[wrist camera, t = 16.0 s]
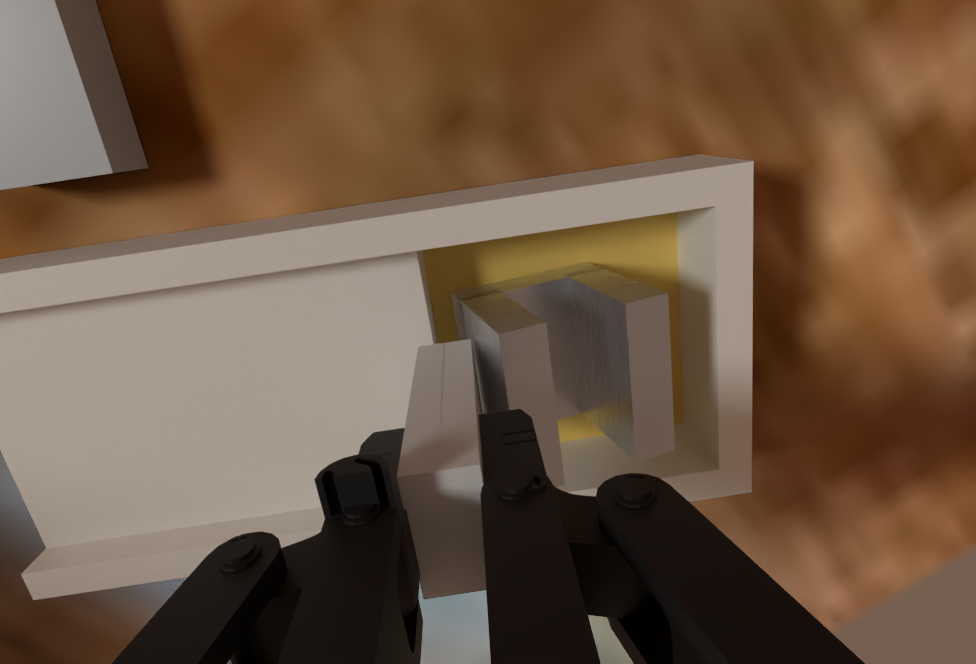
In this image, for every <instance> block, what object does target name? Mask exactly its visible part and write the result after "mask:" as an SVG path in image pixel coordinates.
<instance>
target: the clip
mask: <svg viewBox="0 0 976 664" xmlns="http://www.w3.org/2000/svg"><path fill="white" fill-rule="evenodd" d="M451 296H452V302H453V308H454V314H455V320H456V326H457V332H458V338H459V341H460V340H467V339H471V344H472V350H473V356H474V363H475V369H476V375H477V381H478V387H479V394H480V400H481V406H482V412H483V414H488V413H494V412H501V411H508V410H514V409H521V410H523V411H524V412H525V413H527V414H528V415H529V416H530V417H532V421H533V424H534V428H535V432H536V436H537V441H538V444H539V447H540V451H541V455H542V459H543V463H544V467H545V470H546V474H547V476H548V477H549V479H550V480H551V482H552V484H553V485H554V486H555V487H556V488H557V487H560V486H563V485H565V481H564V473H563V464H562V455H561V447H560V438H559V429H558V420H560V419H564V418H567V417H571V416H574V415H578V414H581V413H582V414H583V415H584V416H585V417H587V418H588V419H589V420H590V421H591V422H592V423H593V424H594V425H595V426H596V427H598V428H599V429H600V430H601V431H602V432H603V433H604V434H605V435H606V436H608V437H609V438H610V439H611V440H612V441H613V442H614V443H615V444H616V445H617V446H619V447H620V448H621V449H622V450H623V451H624V452H625V453H626V454H627V455H629V456H630V457H631V458H632V459H633V460H634V461H635V462H639V461H642V460H645V459H649V458H652V457H655V456H658V455H661V454H664V453H668V452H671V451H674V450H675V440H674V416H673V393H672V370H671V347H670V324H669V301H668V293H666V292H664V291H661V290H659V289H656V288H653V287H651V286H648V285H645V284H643V283H640V282H638V281H635V280H632V279H630V278H627V277H624V276H622V275H619V274H617V273H614V272H611V271H609V270H606V269H604V268H601V267H598V266H596V265H593V264H590V263H588V262H585V263H581V264H576V265H571V266H567V267H562V268H558V269H553V270H549V271H544V272H540V273H535V274H531V275H526V276H521V277H517V278H512V279H508V280H503V281H499V282H494V283H490V284H485V285H481V286H476V287H471V288H467V289H462V290H458V291H453V292H451Z"/></svg>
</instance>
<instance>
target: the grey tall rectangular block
mask: <svg viewBox="0 0 976 664" xmlns="http://www.w3.org/2000/svg"><path fill="white" fill-rule="evenodd" d="M145 168H149V167H148V164H147V161H146V158H145V155H144V152H143V148H142V145H141V142H140V139H139V136H138V133H137V130H136V126H135V123H134V120H133V117H132V114H131V111H130V108H129V104H128V101H127V98H126V95H125V92H124V89H123V86H122V82H121V79H120V76H119V73H118V70H117V67H116V64H115V60H114V57H113V54H112V51H111V48H110V45H109V42H108V38H107V35H106V32H105V29H104V26H103V23H102V20H101V16H100V13H99V10H98V7H97V4H96V1H95V0H0V190H4V189H11V188H18V187H24V186H31V185H38V184H45V183H51V182H58V181H65V180H71V179H78V178H85V177H91V176H98V175H105V174H111V173H118V172H125V171H131V170H138V169H145Z"/></svg>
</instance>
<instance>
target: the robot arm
mask: <svg viewBox="0 0 976 664" xmlns="http://www.w3.org/2000/svg"><path fill="white" fill-rule="evenodd" d="M314 480H315V484H316V488H317V491H318V495H319V499H320V502H321V506H322V509H323V513H324V517H325V520H324V523H323V526H322V529H321V532H320V533H318V534H316V535H314V536H312V537H310V538H307V539H305V540H302V541H300V542H297V543H294V544H291V545H289V546H286V547H283V548H281V545H280V541H279V539H278V538H277V537H276V536H275V535H273V534H272V533H267V532H261V531H260V532H252V533H246V534H242V535H240V536H236V537H234V538H231V539H230V540H228V541H226V542H225V543H223V544H221V545H219V546H218V547H216V548H215V549H214V550H213V551H212V552H211V553H210V554H208V555H207V556H206V557H205V558H204V560H203V561H202V562H201V563H200V564H199V565H198V566H197V568H196V569H195V570H194V571H193V572H192V573H191V574H190V575H189V577H188V578H187V579H186V580H185V581H184V582H183V583H182V585H181V586H180V587H179V588H178V589H177V590H176V591H175V592H174V594H173V595H172V596H171V597H170V598H169V599H168V600H167V602H166V603H165V604H164V605H163V606H162V607H161V608H160V609H159V611H158V612H157V613H156V614H155V615H154V616H153V617H152V619H151V620H150V621H149V622H148V623H147V624H146V625H145V626H144V628H143V629H142V630H141V631H140V632H139V633H138V634H137V636H136V637H135V638H134V639H133V640H132V641H131V642H130V643H129V645H128V646H127V647H126V648H125V649H124V650H123V651H122V653H121V654H120V655H119V656H118V657H117V658H116V659H115V660H114V662H113V663H112V664H227V662H228V661H229V659H230V660H231V663H232V664H420V659H421V643H422V627H423V619H422V614H421V609H420V605H419V600H418V593H419V580H420V585H421V589H422V594H423V598H424V599H429V598H436V597H442V596H449V595H455V594H462V593H469V592H475V591H482V590H486V591H487V606H488V622H489V637H490V653H491V664H601V663H600V660H599V656H598V652H597V648H596V645H595V641H594V637H593V633H592V630H591V626H590V622H589V618H588V615H594V616H603V617H607V618H608V621H609V623H610V626H611V629H612V630H613V632H614V633H615V635H616V636H617V638H618V639H619V641H620V643H621V644H622V646H623V647H624V649H625V650H626V652H627V653H628V655H629V657H630V658H631V660H632V661H633V663H634V664H865V663H864V662H862V661H861V660H860V659H859V658H858V657H857V656H856V655H855V654H854V653H853V652H852V651H851V650H849V649H848V648H847V647H846V646H845V645H844V644H843V643H842V642H841V641H840V640H838V639H837V638H836V637H835V636H834V635H833V634H832V633H831V632H830V631H829V630H828V629H827V628H826V627H824V626H823V625H822V624H821V623H820V622H819V621H818V620H817V619H816V618H815V617H814V616H812V615H811V614H810V613H809V612H808V611H807V610H806V609H805V608H804V607H803V606H802V605H800V604H799V603H798V602H797V601H796V600H795V599H794V598H793V597H792V596H791V595H790V594H788V593H787V592H786V591H785V590H784V589H783V588H782V587H781V586H780V585H779V584H778V583H776V582H775V581H774V580H773V579H772V578H771V577H770V576H769V575H768V574H767V573H766V572H765V571H763V570H762V569H761V568H760V567H759V566H758V565H757V564H756V563H755V562H754V561H753V560H751V559H750V558H749V557H748V556H747V555H746V554H745V553H744V552H743V551H742V550H741V549H739V548H738V547H737V546H736V545H735V544H734V543H733V542H732V541H731V540H730V539H729V538H727V537H726V536H725V535H724V534H723V533H722V532H721V531H720V530H719V529H718V528H717V527H715V526H714V525H713V524H712V523H711V522H710V521H709V520H708V519H707V518H706V517H705V516H704V515H702V514H701V513H700V512H699V511H698V510H697V509H696V508H695V507H694V506H693V505H692V504H690V503H689V502H688V501H687V500H686V499H685V498H684V497H683V496H682V495H681V494H680V493H678V492H677V491H676V490H675V489H674V488H673V487H672V486H671V485H670V484H668V483H667V482H665V481H664V480H662V479H660V478H659V477H655V476H652V475H648V474H641V473H628V474H622V475H616V476H614V477H612V478H610V479H608V480H606V481H604V482H603V483H602V484H601V485H600V486H599V487H598V489H597V494H596V496H583V495H576V494H571V493H568V492H564V491H562V490H560V489H558V488H556V487H555V486H554V485H553V484H552V482H551V480H550V479H549V477H548V476H547V474H546V470H545V467H544V463H543V459H542V455H541V451H540V447H539V444H538V441H537V436H536V432H535V428H534V424H533V421H532V417H530V416H529V415H528V414H527V413H525V412H524V411H523V410H521V409H514V410H508V411H501V412H494V413H488V414H483V412H482V406H481V400H480V394H479V387H478V381H477V375H476V369H475V363H474V356H473V350H472V344H471V339H467V340H460V341H453V342H447V343H440V344H433V345H427V346H420V347H418V351H417V357H416V363H415V369H414V375H413V381H412V387H411V393H410V399H409V405H408V412H407V418H406V424H405V428H399V429H392V430H386V431H379V432H373V433H372V434H371V435H370V436H369V437H368V438H367V439H366V440H365V441H364V442H363V443H362V444H361V447H360V450H359V454H358V455H353V456H349V457H345V458H342V459H340V460H338V461H335V462H333V463H331V464H329V465H328V466H327V467H325V468H324V469H323V470H321V471H320V472H319V474H318V475H317V476H316V478H315V479H314Z"/></svg>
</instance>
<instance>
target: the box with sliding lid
mask: <svg viewBox="0 0 976 664" xmlns="http://www.w3.org/2000/svg"><path fill="white" fill-rule="evenodd" d="M753 167H754V161H750V160H742V159H734V158H726V157H718V156H710V155H702V154H698V155H691V156H685V157H678V158H671V159H665V160H658V161H651V162H645V163H638V164H631V165H625V166H618V167H611V168H604V169H598V170H591V171H584V172H578V173H571V174H564V175H558V176H551V177H544V178H538V179H531V180H524V181H518V182H511V183H504V184H498V185H491V186H484V187H478V188H471V189H464V190H458V191H451V192H444V193H438V194H431V195H424V196H418V197H411V198H404V199H398V200H391V201H384V202H378V203H371V204H364V205H357V206H351V207H344V208H337V209H331V210H324V211H317V212H311V213H304V214H297V215H291V216H284V217H277V218H271V219H264V220H257V221H251V222H244V223H237V224H231V225H224V226H217V227H211V228H204V229H197V230H191V231H184V232H177V233H171V234H164V235H157V236H151V237H144V238H137V239H131V240H124V241H117V242H110V243H104V244H97V245H90V246H84V247H77V248H70V249H64V250H57V251H50V252H44V253H37V254H30V255H24V256H17V257H10V258H4V259H0V451H1V453H2V455H3V457H4V459H5V461H6V464H7V466H8V468H9V470H10V472H11V474H12V476H13V479H14V481H15V483H16V485H17V487H18V489H19V491H20V493H21V496H22V498H23V500H24V502H25V504H26V506H27V508H28V511H29V513H30V515H31V517H32V519H33V521H34V523H35V526H36V528H37V530H38V532H39V534H40V536H41V538H42V540H43V543H44V545H45V547H46V549H45V550H44V551H43V552H42V553H41V554H40V555H39V556H38V557H37V558H36V559H35V560H34V561H33V562H32V563H31V564H30V565H29V566H28V567H27V568H26V569H25V571H24V572H23V573H22V574H21V576H22V578H23V580H24V582H25V584H26V586H27V588H28V590H29V592H30V594H31V596H32V598H33V600H38V599H45V598H52V597H58V596H65V595H72V594H78V593H85V592H92V591H98V590H105V589H112V588H118V587H125V586H132V585H138V584H145V583H152V582H158V581H165V580H172V579H178V578H185V577H189V575H190V574H191V573H192V572H193V571H194V570H195V569H196V568H197V566H198V565H199V564H200V563H201V562H202V561H203V560H204V558H205V557H206V556H207V555H208V554H210V553H211V552H212V551H213V550H214V549H215V548H216V547H218V546H219V545H221V544H223V543H225V542H226V541H228V540H230V539H231V538H234V537H236V536H240V535H242V534H246V533H252V532H260V531H261V532H267V533H272V534H273V535H275V536H276V537H277V538H278V539H279V541H280V545H281V548H283V547H286V546H289V545H291V544H294V543H297V542H300V541H302V540H305V539H307V538H310V537H312V536H314V535H316V534H318V533H320V532H321V529H322V526H323V523H324V520H325V517H324V513H323V509H322V506H321V502H320V499H319V495H318V491H317V488H316V484H315V480H314V479H315V478H316V476H317V475H318V474H319V472H320V471H321V470H323V469H324V468H325V467H327V466H328V465H329V464H331V463H333V462H335V461H338V460H340V459H342V458H345V457H349V456H353V455H358V454H359V450H360V447H361V444H362V443H363V442H364V441H365V440H366V439H367V438H368V437H369V436H370V435H371V434H372V433H373V432H379V431H386V430H392V429H399V428H405V424H406V418H407V412H408V405H409V399H410V393H411V387H412V381H413V375H414V369H415V363H416V357H417V351H418V347H420V346H427V345H433V344H440V343H447V342H453V341H459V338H458V332H457V326H456V320H455V314H454V308H453V302H452V296H451V292H453V291H458V290H462V289H467V288H471V287H476V286H481V285H485V284H490V283H494V282H499V281H503V280H508V279H512V278H517V277H521V276H526V275H531V274H535V273H540V272H544V271H549V270H553V269H558V268H562V267H567V266H571V265H576V264H581V263H585V262H588V263H590V264H593V265H596V266H598V267H601V268H604V269H606V270H609V271H611V272H614V273H617V274H619V275H622V276H624V277H627V278H630V279H632V280H635V281H638V282H640V283H643V284H645V285H648V286H651V287H653V288H656V289H659V290H661V291H664V292H666V293H668V301H669V324H670V347H671V370H672V393H673V416H674V440H675V450H674V451H671V452H668V453H664V454H661V455H658V456H655V457H652V458H649V459H645V460H642V461H639V462H635V461H634V460H633V459H632V458H631V457H630V456H629V455H627V454H626V453H625V452H624V451H623V450H622V449H621V448H620V447H619V446H617V445H616V444H615V443H614V442H613V441H612V440H611V439H610V438H609V437H608V436H606V435H605V434H604V433H603V432H602V431H601V430H600V429H599V428H598V427H596V426H595V425H594V424H593V423H592V422H591V421H590V420H589V419H588V418H587V417H585V416H584V415H583V414H582V413H581V414H578V415H574V416H571V417H567V418H564V419H560V420H558V429H559V438H560V447H561V455H562V464H563V473H564V481H565V485H563V486H560V487H557V488H558V489H560V490H562V491H564V492H568V493H571V494H576V495H583V496H596V494H597V489H598V487H599V486H600V485H601V484H602V483H603V482H604V481H606V480H608V479H610V478H612V477H614V476H616V475H622V474H628V473H641V474H648V475H652V476H655V477H659V478H660V479H662V480H664V481H665V482H667V483H668V484H670V485H671V486H672V487H673V488H674V489H675V490H676V491H677V492H678V493H680V494H681V495H682V496H683V497H684V498H685V499H686V500H687V501H688V502H691V501H697V500H704V499H711V498H717V497H724V496H731V495H737V494H744V493H751V492H752V351H753Z"/></svg>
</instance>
